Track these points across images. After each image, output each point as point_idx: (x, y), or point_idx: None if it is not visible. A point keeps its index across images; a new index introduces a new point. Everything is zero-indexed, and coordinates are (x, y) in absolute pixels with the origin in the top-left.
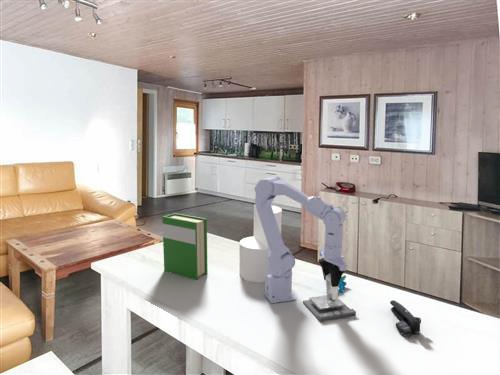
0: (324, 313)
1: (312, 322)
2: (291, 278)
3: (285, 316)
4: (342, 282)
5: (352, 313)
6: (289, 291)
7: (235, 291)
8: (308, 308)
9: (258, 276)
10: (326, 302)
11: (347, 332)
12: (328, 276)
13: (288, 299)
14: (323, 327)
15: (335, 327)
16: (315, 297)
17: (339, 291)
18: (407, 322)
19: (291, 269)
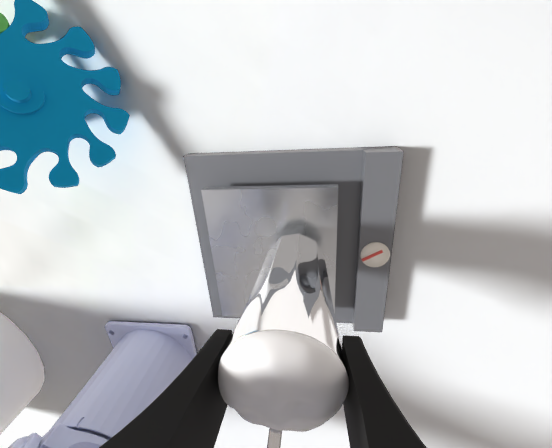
0: (358, 304)
1: (368, 340)
2: (124, 420)
3: None
4: (24, 32)
5: (399, 172)
6: (170, 372)
7: None
8: None
9: (23, 396)
10: None
11: (501, 260)
12: (279, 427)
13: (192, 352)
14: (418, 323)
15: (440, 285)
16: (225, 292)
17: (117, 93)
18: None
19: (54, 442)
